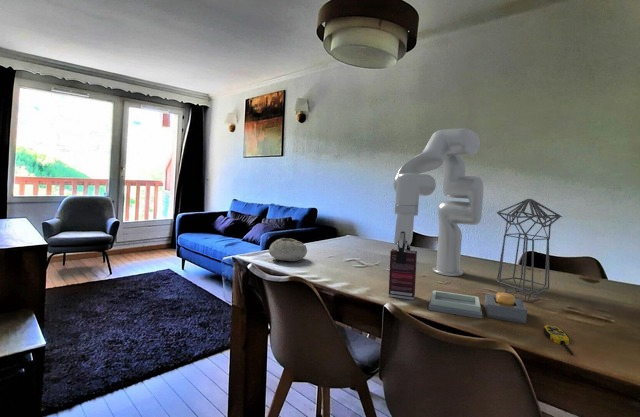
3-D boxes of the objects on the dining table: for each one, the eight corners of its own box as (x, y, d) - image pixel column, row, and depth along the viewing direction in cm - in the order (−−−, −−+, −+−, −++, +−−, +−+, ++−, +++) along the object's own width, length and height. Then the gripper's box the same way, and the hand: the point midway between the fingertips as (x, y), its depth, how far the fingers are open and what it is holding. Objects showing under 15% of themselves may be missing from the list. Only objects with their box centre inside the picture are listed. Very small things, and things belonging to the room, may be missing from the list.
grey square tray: (431, 296, 119) (431, 288, 118) (479, 303, 113) (479, 295, 113) (428, 310, 106) (429, 301, 105) (482, 318, 100) (482, 309, 100)
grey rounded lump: (308, 257, 171) (309, 237, 170) (303, 266, 154) (304, 243, 153) (273, 255, 173) (274, 235, 172) (264, 263, 155) (265, 241, 154)
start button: (494, 300, 107) (495, 291, 107) (512, 303, 106) (513, 294, 105) (496, 306, 103) (497, 296, 103) (515, 309, 101) (516, 299, 101)
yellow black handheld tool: (560, 325, 94) (585, 351, 79) (559, 332, 94) (584, 359, 80) (540, 323, 95) (561, 347, 81) (539, 329, 95) (560, 355, 81)
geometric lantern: (529, 307, 111) (539, 200, 108) (486, 292, 125) (494, 197, 122) (557, 301, 119) (567, 200, 116) (513, 287, 132) (521, 197, 130)
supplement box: (414, 296, 118) (417, 250, 117) (413, 300, 114) (416, 253, 112) (389, 292, 121) (392, 248, 120) (387, 296, 117) (390, 250, 115)
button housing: (484, 306, 111) (485, 294, 111) (519, 311, 107) (520, 299, 107) (487, 317, 102) (488, 304, 101) (525, 323, 98) (527, 310, 98)
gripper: (398, 208, 124) (395, 254, 126) (390, 211, 108) (387, 264, 109) (420, 209, 122) (417, 257, 123) (415, 212, 106) (411, 267, 107)
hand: (403, 260), depth 116 cm, fingers open, 9 cm apart
